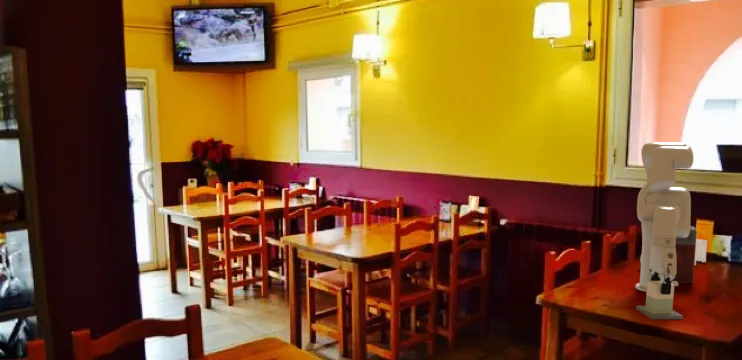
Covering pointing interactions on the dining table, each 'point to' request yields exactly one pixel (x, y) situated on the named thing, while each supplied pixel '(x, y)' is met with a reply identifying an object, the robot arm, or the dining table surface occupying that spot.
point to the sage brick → (659, 305)
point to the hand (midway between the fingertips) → (660, 290)
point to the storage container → (700, 250)
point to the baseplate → (659, 314)
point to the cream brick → (658, 290)
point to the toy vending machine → (685, 257)
